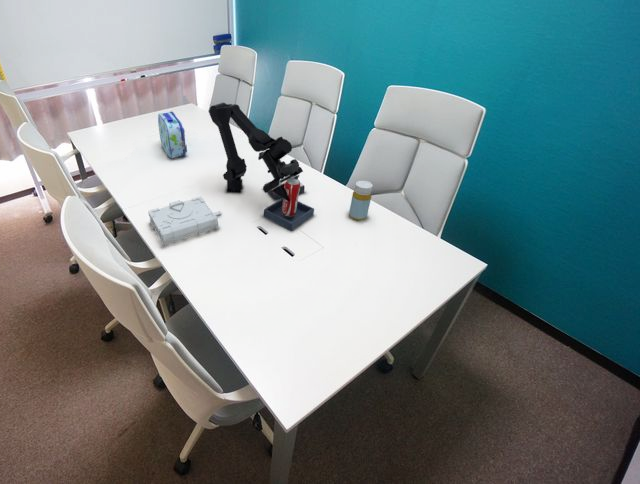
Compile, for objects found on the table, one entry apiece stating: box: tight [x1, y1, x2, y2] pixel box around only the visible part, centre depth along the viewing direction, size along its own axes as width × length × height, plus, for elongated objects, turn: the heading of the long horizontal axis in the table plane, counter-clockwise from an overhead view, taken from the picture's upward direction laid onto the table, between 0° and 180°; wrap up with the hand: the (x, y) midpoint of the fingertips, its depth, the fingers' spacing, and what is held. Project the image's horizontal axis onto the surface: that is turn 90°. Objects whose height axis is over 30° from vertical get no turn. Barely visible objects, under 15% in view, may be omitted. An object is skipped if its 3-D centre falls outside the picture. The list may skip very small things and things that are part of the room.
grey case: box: [147, 195, 222, 246], centre depth 137 cm, size 19×28×8 cm
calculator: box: [263, 179, 306, 201], centre depth 157 cm, size 11×4×15 cm
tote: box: [263, 198, 315, 232], centre depth 141 cm, size 15×15×4 cm
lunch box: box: [157, 110, 188, 159], centre depth 192 cm, size 26×11×21 cm, turn 23°
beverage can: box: [282, 178, 301, 216], centre depth 136 cm, size 6×6×15 cm
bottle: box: [348, 180, 374, 222], centre depth 137 cm, size 7×7×15 cm
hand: (294, 198), depth 135 cm, fingers closed on beverage can, 5 cm apart
